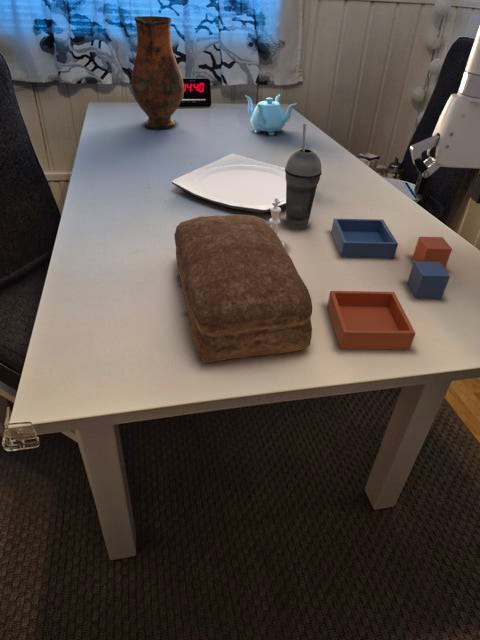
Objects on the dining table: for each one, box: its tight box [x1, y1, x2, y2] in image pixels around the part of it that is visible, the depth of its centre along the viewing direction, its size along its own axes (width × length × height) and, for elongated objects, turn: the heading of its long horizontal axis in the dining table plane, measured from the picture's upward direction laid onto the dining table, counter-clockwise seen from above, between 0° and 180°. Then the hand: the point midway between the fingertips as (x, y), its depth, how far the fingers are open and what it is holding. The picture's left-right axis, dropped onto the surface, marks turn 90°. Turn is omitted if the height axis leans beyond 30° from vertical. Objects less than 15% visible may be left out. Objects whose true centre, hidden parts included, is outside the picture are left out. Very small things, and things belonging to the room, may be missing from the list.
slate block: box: [406, 260, 451, 300], centre depth 75 cm, size 4×4×4 cm
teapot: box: [244, 93, 297, 136], centre depth 145 cm, size 13×13×10 cm
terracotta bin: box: [326, 290, 416, 351], centre depth 67 cm, size 10×10×3 cm
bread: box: [173, 213, 313, 363], centre depth 68 cm, size 17×29×11 cm, turn 12°
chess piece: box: [268, 198, 286, 249], centre depth 83 cm, size 5×5×10 cm
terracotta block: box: [412, 236, 453, 269], centre depth 82 cm, size 4×4×4 cm
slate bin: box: [330, 218, 399, 259], centre depth 87 cm, size 10×10×3 cm
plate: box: [171, 153, 286, 214], centre depth 108 cm, size 29×29×3 cm
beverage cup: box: [284, 123, 323, 231], centre depth 88 cm, size 7×7×20 cm
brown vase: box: [131, 15, 185, 130], centre depth 142 cm, size 17×21×30 cm
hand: (447, 199), depth 76 cm, fingers open, 9 cm apart
